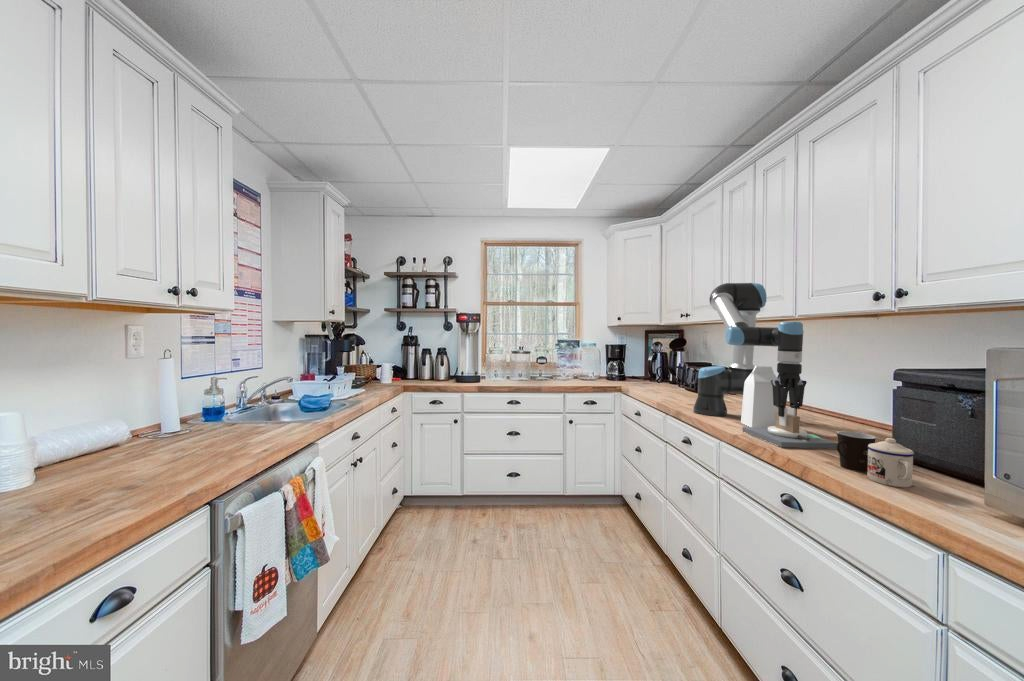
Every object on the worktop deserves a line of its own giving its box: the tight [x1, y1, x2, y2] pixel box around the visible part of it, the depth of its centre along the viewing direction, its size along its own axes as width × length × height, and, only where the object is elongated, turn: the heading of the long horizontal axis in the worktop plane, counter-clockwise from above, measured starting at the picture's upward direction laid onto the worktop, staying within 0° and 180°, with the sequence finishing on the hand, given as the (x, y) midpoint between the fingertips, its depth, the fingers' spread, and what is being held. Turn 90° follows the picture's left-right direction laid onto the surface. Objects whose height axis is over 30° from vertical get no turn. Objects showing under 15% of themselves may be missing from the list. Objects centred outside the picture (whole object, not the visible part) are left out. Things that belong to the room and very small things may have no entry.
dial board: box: [742, 426, 838, 449], centre depth 146 cm, size 22×20×2 cm
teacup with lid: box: [866, 437, 915, 488], centre depth 103 cm, size 12×9×12 cm
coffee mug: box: [836, 430, 877, 473], centre depth 115 cm, size 12×9×10 cm
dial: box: [768, 412, 810, 441], centre depth 144 cm, size 16×12×8 cm
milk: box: [740, 365, 778, 427], centre depth 168 cm, size 12×12×26 cm
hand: (787, 425), depth 146 cm, fingers closed on dial, 3 cm apart
